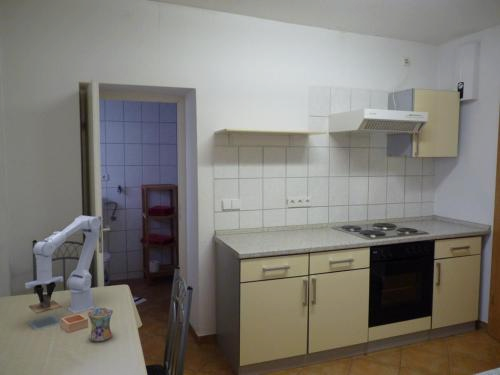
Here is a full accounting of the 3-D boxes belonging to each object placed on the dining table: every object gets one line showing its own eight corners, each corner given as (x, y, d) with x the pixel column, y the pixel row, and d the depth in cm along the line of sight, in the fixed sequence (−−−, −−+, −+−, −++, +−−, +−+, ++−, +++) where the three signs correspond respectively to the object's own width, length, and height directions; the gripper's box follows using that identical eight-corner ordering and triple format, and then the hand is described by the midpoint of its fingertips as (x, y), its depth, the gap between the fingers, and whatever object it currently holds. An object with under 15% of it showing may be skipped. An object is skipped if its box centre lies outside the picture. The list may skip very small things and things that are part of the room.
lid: (53, 301, 178) (52, 290, 177) (61, 307, 171) (61, 295, 170) (28, 307, 170) (28, 295, 170) (36, 313, 164) (36, 301, 163)
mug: (115, 339, 157) (115, 313, 156) (90, 345, 152) (90, 318, 151) (108, 328, 167) (108, 303, 166) (84, 333, 162) (84, 308, 161)
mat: (54, 316, 179) (54, 315, 179) (63, 323, 171) (63, 322, 171) (27, 323, 171) (27, 322, 171) (36, 331, 163) (36, 330, 163)
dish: (80, 322, 173) (79, 313, 172) (88, 328, 167) (87, 318, 167) (60, 327, 167) (60, 318, 167) (68, 334, 161) (68, 324, 161)
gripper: (28, 275, 161) (29, 308, 162) (65, 268, 172) (66, 299, 173) (23, 271, 166) (24, 303, 167) (59, 265, 177) (59, 295, 178)
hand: (45, 301), depth 170 cm, fingers closed on lid, 2 cm apart
